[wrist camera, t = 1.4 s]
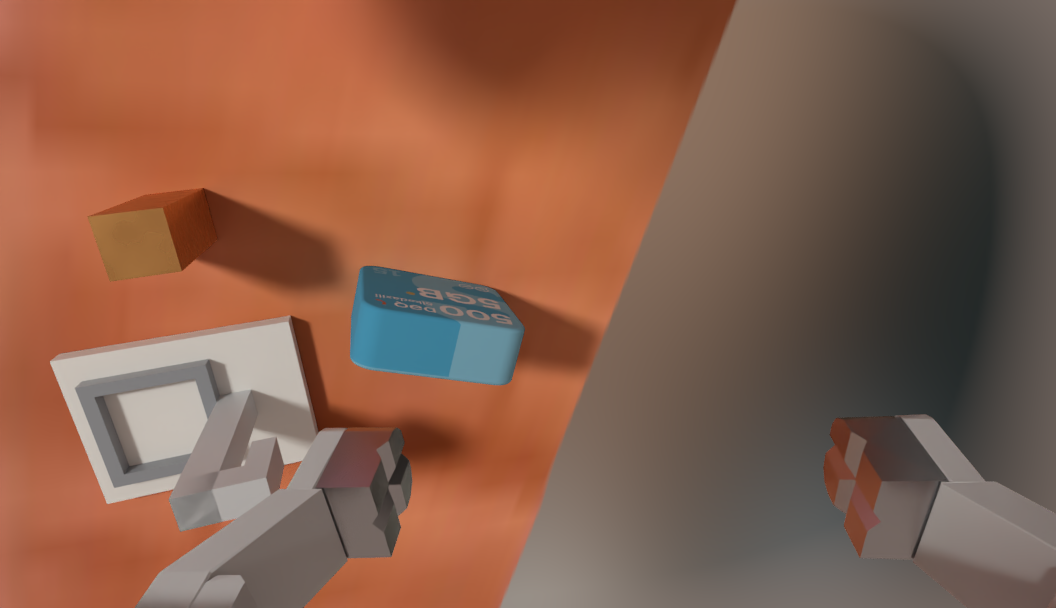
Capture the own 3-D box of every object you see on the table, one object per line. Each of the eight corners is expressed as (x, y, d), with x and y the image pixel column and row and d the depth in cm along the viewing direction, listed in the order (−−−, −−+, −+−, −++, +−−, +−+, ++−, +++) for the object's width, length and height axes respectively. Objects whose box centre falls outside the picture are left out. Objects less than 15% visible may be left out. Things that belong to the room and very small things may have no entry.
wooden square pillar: (161, 247, 44) (110, 281, 35) (145, 194, 43) (87, 216, 34) (217, 239, 45) (181, 271, 36) (203, 188, 44) (162, 207, 35)
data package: (494, 286, 53) (530, 332, 42) (483, 332, 54) (515, 388, 43) (360, 262, 49) (361, 305, 38) (351, 312, 50) (349, 368, 39)
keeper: (114, 493, 49) (15, 647, 35) (59, 353, 45) (-80, 465, 30) (322, 447, 53) (309, 570, 39) (290, 315, 48) (262, 399, 34)
